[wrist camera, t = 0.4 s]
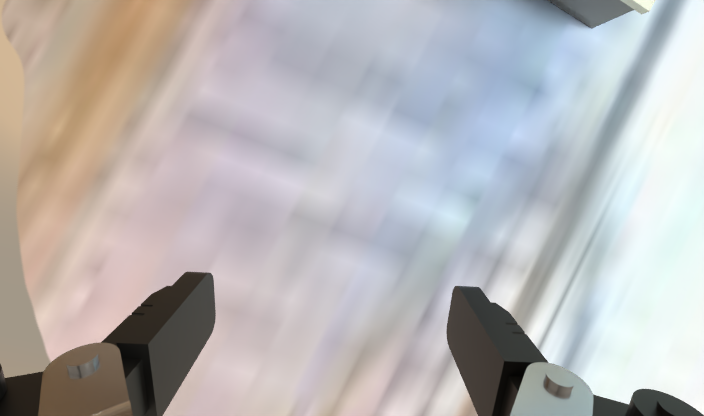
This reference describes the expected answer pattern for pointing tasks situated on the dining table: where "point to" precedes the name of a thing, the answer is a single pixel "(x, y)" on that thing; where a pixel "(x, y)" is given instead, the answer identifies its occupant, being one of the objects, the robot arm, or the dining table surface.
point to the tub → (593, 10)
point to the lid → (640, 5)
